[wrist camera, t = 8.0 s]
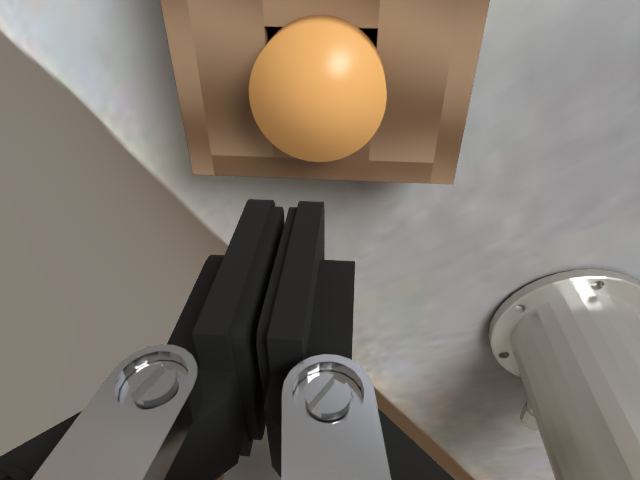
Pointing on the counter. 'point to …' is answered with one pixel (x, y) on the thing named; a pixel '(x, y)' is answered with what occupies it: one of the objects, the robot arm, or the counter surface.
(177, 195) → the counter surface
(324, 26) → the orange button
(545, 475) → the counter surface
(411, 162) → the wooden peg board
